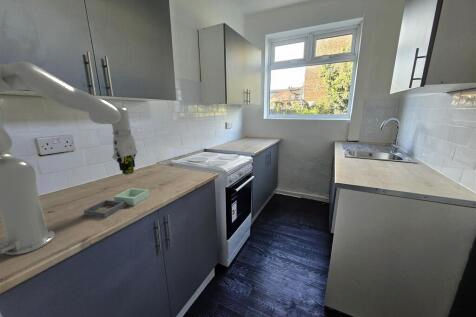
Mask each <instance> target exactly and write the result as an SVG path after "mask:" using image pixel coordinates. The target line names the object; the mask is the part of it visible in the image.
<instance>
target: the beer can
mask: <svg viewBox="0 0 476 317" xmlns="http://www.w3.org/2000/svg"><path fill="white" fill-rule="evenodd" d="M124 163H125V165H126V170H125V171H124V170H121V172H122V174H123V176H129V175H133V174H134V172H135V170H134V169H135V167H133V160H132V155H130V156H127V157H124Z"/></svg>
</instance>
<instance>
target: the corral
mask: <svg viewBox="0 0 476 317" xmlns="http://www.w3.org/2000/svg"><path fill="white" fill-rule="evenodd" d="M105 206H112V207H111V208H109V209H107V210H105V211H98V210H99V209H102V208H103V207H105ZM125 207H126V205H125V202H122V201H115V199H113V200H111V199H103V200H102V201H100V202H97V203H95V204H93V205H92V206H90V207H89V206H88V207H87V208H85V209H83V214H84V216H87V217H93V218H94V217H95V218H102V219H106V218H108V217H110V216H111V215H113V214H115V213H117V212H119V211H121V209H124V208H125Z"/></svg>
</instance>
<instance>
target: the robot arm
mask: <svg viewBox="0 0 476 317" xmlns="http://www.w3.org/2000/svg"><path fill="white" fill-rule="evenodd" d="M22 90H24V91H25V90H28V91H30V92H32V93H35V94H36V95H39V96H40V97H43V98H45V99H47V100H49V101H51V102H52V103H55V104H57V105H58V106H62V107H65V108H67V109H73V110H77V111H81V112H85V113H88V117H89V120H90V121H92V122H93V123H95V124H98V125H111V127H112V131H113V132H112V133H111V134H112V136H113V137H112V138H113V140H112V144H113V145H112V146H113V155H112V157H111V158H112V160H115V162H117V163H118V167H119V171H122V170H124V171H125V170H126V165H125V163H124V157H127V156H130V155H132V160H133V167H134V168H136V163H135V159H136V155H137V154H138V151H137V146H136V142H135V138H134V136H133V134H132V131H131V123H130V118H129V117H130V115H129V110H128V109H127V108H126V107H115V106H113V105H112V104H110V102H107V101H106V100H103V99H102V98H100V97H99V96H96V95H93V94H91V93H89V92H86V91H84V90H81V89H78V88H76V87H74V86H72V85H70V84H68V83H67V82H66V81H64V80H62V79H60V78H58V77H56V76H55V75H54V74H51V73H50V72H48V71H46V70H45V69H43V68H41V67H39V66H37V65H36V64H34V63H33V62H29V61H26V60H25V61H24V60H19V61H14V62H10V63H6V64H5V63H4V64H3V63H1V64H0V93H1V92H2V93H3V92H5V93H6V92H15V91H22ZM12 146H13V140H12V138H11V136H10V134H9V133H8V132H7V131H6V129H5V128H4V127H3V125H2V123H1V122H0V217H1V221H2V225H3V227H4V231H5V233H6V238H5V239H3V242H2V243H1V244H0V254H1V255H3V254H5V255H9V256H17V255H23V254H27V253H30V252H33V251H35V250H37V249H40V248H43V247H44V246H47V244H49V243H51V242H52V241H53V239H54V238H55V236H56V233H55V232H54V231H53V230H48V226H47V223H46V218H45V214H44V211H43V210H44V209H43V207H42V202H41V199H40V195H39V192H38V186H37V177H36V176H37V174H36V171H35V169H34V167H33V165H32V164H31V163H30V162H28V161H27V160H26V159H23V158H21V157H16V156H15V155H14V154H13V152H12V151H11V149H12Z"/></svg>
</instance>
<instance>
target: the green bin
mask: <svg viewBox="0 0 476 317" xmlns="http://www.w3.org/2000/svg"><path fill="white" fill-rule="evenodd" d="M150 196H151V195H150V190H149V189H145V188H144V189H143V188H135V187H134V188H133V187H132V188H128V189H126V190H124V191H122V192H120V193H118V194H116V195H114V196H113V200H114V201H122V202H125V206H133V207H135V206H136V205H138V204H140V203H141V202H143V201H145V200H147V199H148V198H150Z"/></svg>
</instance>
